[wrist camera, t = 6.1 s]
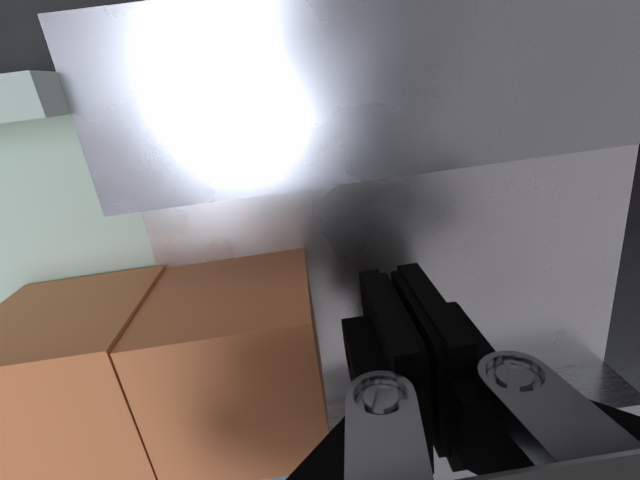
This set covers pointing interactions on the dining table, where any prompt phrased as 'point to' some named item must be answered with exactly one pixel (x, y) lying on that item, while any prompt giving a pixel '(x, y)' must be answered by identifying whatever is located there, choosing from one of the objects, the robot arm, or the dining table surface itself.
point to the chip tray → (53, 194)
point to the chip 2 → (226, 369)
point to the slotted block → (378, 153)
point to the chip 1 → (70, 380)
